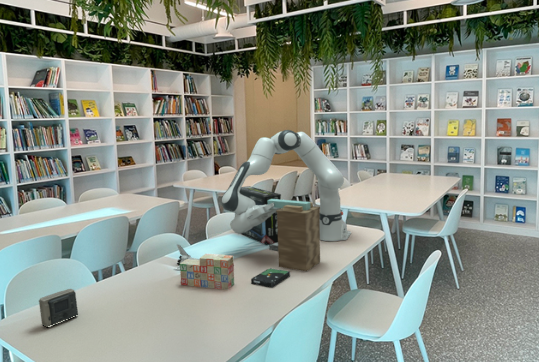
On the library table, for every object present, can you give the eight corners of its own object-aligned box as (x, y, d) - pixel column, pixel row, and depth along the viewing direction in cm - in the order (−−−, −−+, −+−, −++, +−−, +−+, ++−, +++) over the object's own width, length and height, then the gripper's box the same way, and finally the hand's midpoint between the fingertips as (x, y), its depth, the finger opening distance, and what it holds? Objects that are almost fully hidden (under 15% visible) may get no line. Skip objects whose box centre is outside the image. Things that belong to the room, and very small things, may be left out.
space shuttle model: (214, 277, 188) (213, 254, 186) (167, 270, 198) (166, 249, 196) (232, 265, 202) (231, 244, 200) (187, 259, 212) (186, 239, 210)
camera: (72, 313, 155) (70, 286, 153) (80, 317, 151) (78, 290, 150) (39, 325, 146) (36, 297, 145) (47, 330, 142) (43, 301, 141)
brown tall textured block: (293, 257, 208) (291, 200, 204) (321, 262, 201) (320, 202, 197) (277, 266, 196) (276, 206, 192) (306, 272, 188) (305, 208, 184)
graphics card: (269, 244, 221) (295, 233, 241) (269, 251, 222) (295, 239, 242) (285, 247, 215) (310, 235, 235) (285, 254, 216) (310, 241, 236)
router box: (234, 231, 259) (232, 187, 255) (250, 228, 265) (249, 185, 261) (266, 245, 229) (264, 195, 225) (283, 242, 235) (282, 193, 231)
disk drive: (272, 289, 172) (290, 277, 185) (272, 283, 172) (290, 270, 184) (250, 285, 177) (269, 273, 190) (250, 278, 177) (269, 267, 189)
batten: (272, 205, 204) (272, 198, 204) (310, 208, 194) (310, 202, 193) (267, 206, 201) (267, 200, 200) (306, 210, 190) (306, 203, 190)
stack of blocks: (180, 285, 178) (178, 256, 176) (187, 279, 184) (186, 251, 182) (228, 290, 172) (227, 260, 170) (234, 284, 178) (233, 255, 176)
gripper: (241, 213, 199) (263, 200, 191) (265, 205, 216) (286, 192, 209) (248, 225, 198) (269, 213, 191) (271, 216, 215) (292, 204, 208)
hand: (278, 202), depth 200 cm, fingers open, 7 cm apart
